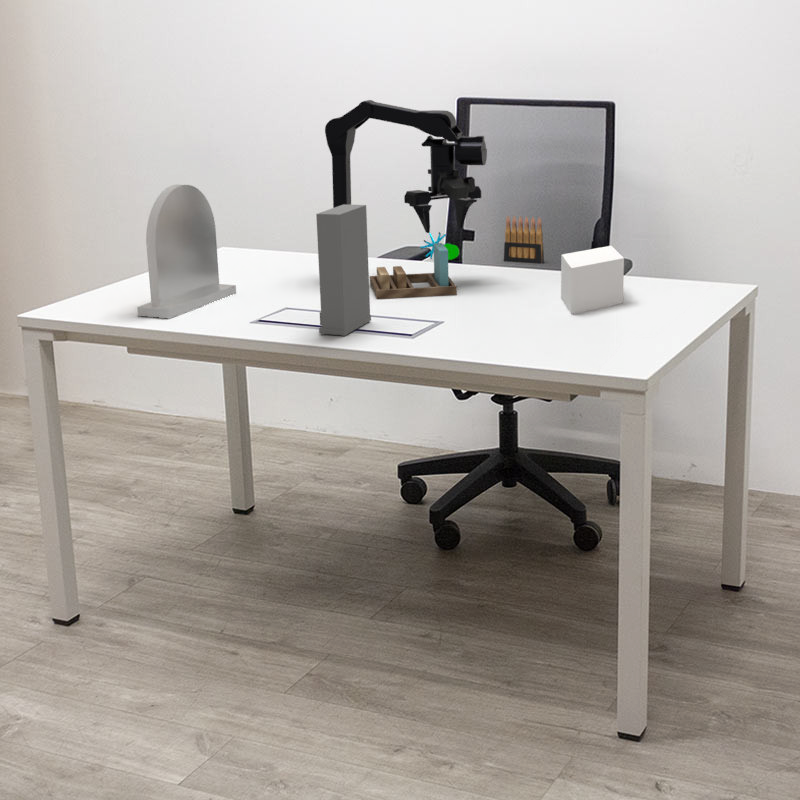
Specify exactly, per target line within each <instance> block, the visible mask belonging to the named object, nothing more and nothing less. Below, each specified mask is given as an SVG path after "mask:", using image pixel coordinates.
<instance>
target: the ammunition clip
mask: <svg viewBox="0 0 800 800" xmlns="http://www.w3.org/2000/svg"><path fill="white" fill-rule="evenodd" d="M530 221H531V222H530ZM530 221H529V218H528V216H525V219H524V223H523V218H522V216H519V218H518V223H517V219H516V216H515V215H513V216H512V220H511V217H510V215H507V216H506V219H505V231H504V244H503V245H504V247H503V248H504V249H503V261H504V262H507V263H508V262H513V263H523V264H524V263H525V264H540V265H541V264H544V263H545V257H544V255H545V253H544V241H543V238H544V236H543V228H542V227H543V225H542V220H541V217H540V216H539V217H538V219H537V223H536V220H535V217H534V216H532V217H531V220H530ZM511 222H512V223H511ZM536 224H537V225H536ZM511 225H512V226H511Z"/></svg>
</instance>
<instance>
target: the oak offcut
mask: <svg viewBox="0 0 800 800" xmlns="http://www.w3.org/2000/svg"><path fill="white" fill-rule="evenodd" d="M392 273H393V274H392V275H393V282H394V284H395V286H396V288H397V289H404V288H407V287H406V274H407V273H406V271H405V270H404V268H403V267H402V266H401V265H399V266H398V265H397V266H396V265H395V266H392Z"/></svg>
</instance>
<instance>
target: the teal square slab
mask: <svg viewBox="0 0 800 800" xmlns="http://www.w3.org/2000/svg"><path fill="white" fill-rule="evenodd" d="M443 244H444V243H443V242H439V243H434V252H433V273H434V279H435V281H436V282H437V283H438V285H439V286H440V287H443V286H449V278H450V277H449V278H448V276H449V260H448V250H447V249H446V247H445V246H444V245H443Z"/></svg>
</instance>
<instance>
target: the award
mask: <svg viewBox="0 0 800 800" xmlns="http://www.w3.org/2000/svg"><path fill="white" fill-rule="evenodd" d="M214 217H215V216H214V213H213V210H212V208H211V205H210V202H209V200H208V199H207V197H206V196H205V195H204V193H203V191H201V190H199V188H197V187H196V186H194V185H190V184H173V185H170V186H168V187H166V188H164V189H163V190H162V191H161V192H160V193H159V195H158V196H157V197H156V199H155V201H154V202H153V205H152V206H151V210H150V213H149V215H148V220H147V226H146V233H145V235H146V239H145V240H146V241H145V244H146V256H147V257H146V258H147V266H148V277H149V290H150V291H149V292H150V300H151V301H150V302H147V303H144V304H141V305H139V306H136V307H137V316H138V315H139V316H138V317H141V316H148V317H147V318H153V317H159V318H158V319H164V318H168V319H169V318H170V319H172V317H173V318H175V317H178V316H181V315H182V314H183V313H184V314H186V313H188V311H189V312H191V310H192V311H194V310H197V309H199V307H200V308H202V307H201V306H203V307H205V306H207V304H208V305H210V304H209V303H211V304H213V303H215V302H214V301H216V302H218V301H217V300H219V301H221V300H223V299H222V298H224V299H226V298H229V297H231V296H230V295H232V296H234V295H237V285H236V284H222V283H220V278H219V277H220V276H219V275H220V274H219V262H218V261H219V260H218V259H219V258H218V244H217V231H216V223H215V218H214ZM233 294H234V295H233ZM228 296H229V297H228ZM225 297H226V298H225ZM220 299H221V300H220ZM212 302H213V303H212ZM204 305H205V306H204ZM196 308H197V309H196ZM193 309H194V310H193ZM185 312H186V313H185ZM180 314H181V315H180ZM170 319H169V320H170Z"/></svg>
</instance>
